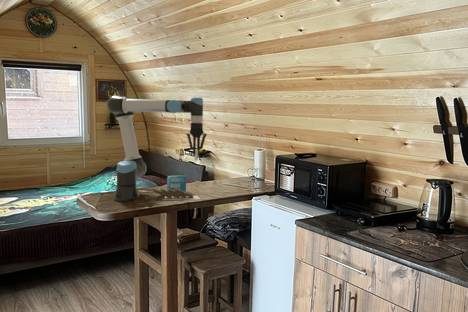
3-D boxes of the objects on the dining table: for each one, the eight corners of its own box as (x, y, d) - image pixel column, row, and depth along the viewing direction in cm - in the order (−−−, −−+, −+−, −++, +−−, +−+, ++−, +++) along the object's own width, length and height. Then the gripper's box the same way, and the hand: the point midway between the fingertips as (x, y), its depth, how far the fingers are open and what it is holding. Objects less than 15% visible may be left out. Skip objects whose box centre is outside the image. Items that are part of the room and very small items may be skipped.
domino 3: (178, 198, 265) (160, 192, 261) (177, 196, 270) (159, 190, 266) (179, 196, 265) (161, 189, 261) (178, 194, 270) (160, 188, 266)
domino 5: (192, 198, 268) (174, 191, 264) (191, 196, 272) (173, 190, 269) (193, 195, 268) (175, 189, 264) (191, 194, 272) (174, 187, 269)
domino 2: (171, 198, 264) (153, 192, 260) (170, 196, 268) (152, 190, 265) (172, 196, 264) (154, 189, 260) (171, 194, 268) (153, 188, 265)
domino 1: (165, 198, 263) (145, 200, 260) (164, 197, 267) (144, 199, 264) (164, 196, 262) (145, 198, 259) (163, 194, 267) (144, 196, 264)
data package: (169, 194, 280) (169, 176, 279) (166, 193, 284) (167, 175, 283) (186, 193, 286) (186, 176, 285) (183, 192, 290) (183, 175, 289)
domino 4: (185, 198, 266) (167, 191, 263) (184, 196, 271) (166, 190, 267) (186, 196, 266) (168, 189, 263) (185, 194, 271) (167, 187, 267)
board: (162, 201, 260) (162, 200, 260) (160, 198, 269) (160, 196, 269) (200, 200, 267) (200, 198, 266) (197, 197, 276) (197, 195, 276)
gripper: (187, 122, 260) (186, 160, 262) (208, 122, 263) (207, 160, 266) (185, 122, 267) (185, 159, 269) (205, 122, 270) (205, 159, 273)
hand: (196, 159), depth 268 cm, fingers closed
